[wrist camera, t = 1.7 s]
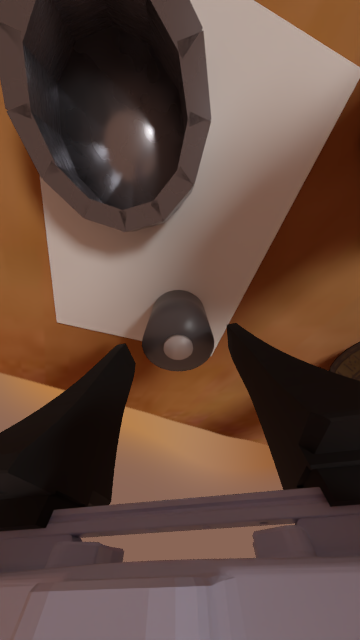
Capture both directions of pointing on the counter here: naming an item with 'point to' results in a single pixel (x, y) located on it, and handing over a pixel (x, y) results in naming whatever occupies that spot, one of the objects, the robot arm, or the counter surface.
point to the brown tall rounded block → (348, 363)
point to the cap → (178, 332)
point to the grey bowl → (109, 102)
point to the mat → (211, 181)
